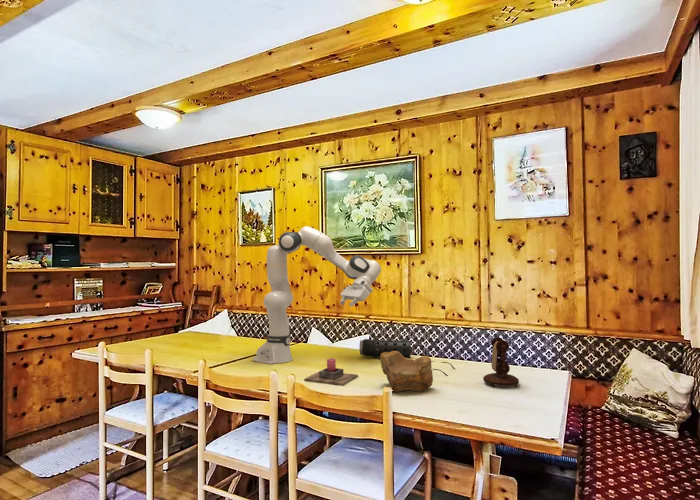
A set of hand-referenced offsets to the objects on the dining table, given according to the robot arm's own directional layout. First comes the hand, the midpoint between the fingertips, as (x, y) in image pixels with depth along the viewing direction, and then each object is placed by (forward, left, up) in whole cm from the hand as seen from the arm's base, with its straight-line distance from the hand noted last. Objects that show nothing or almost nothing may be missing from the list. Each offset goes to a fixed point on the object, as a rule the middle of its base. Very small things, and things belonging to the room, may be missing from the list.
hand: (345, 304), depth 235 cm
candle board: (+6, -29, -31) cm, 43 cm away
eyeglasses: (+46, +4, -32) cm, 56 cm away
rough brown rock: (+42, -32, -32) cm, 62 cm away
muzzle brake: (+14, +21, -32) cm, 40 cm away
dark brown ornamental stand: (+79, -8, -32) cm, 86 cm away
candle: (+6, -29, -30) cm, 43 cm away
